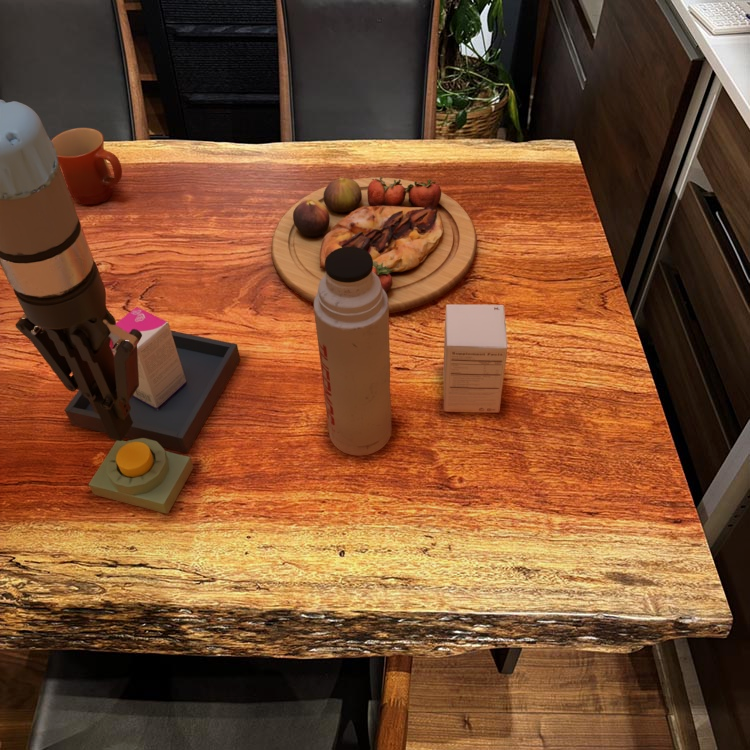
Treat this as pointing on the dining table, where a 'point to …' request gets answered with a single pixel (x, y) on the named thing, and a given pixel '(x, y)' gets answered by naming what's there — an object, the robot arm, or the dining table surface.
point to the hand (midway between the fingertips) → (121, 430)
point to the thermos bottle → (354, 352)
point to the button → (134, 459)
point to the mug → (86, 165)
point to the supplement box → (154, 358)
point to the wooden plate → (378, 237)
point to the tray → (186, 408)
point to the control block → (143, 478)
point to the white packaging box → (474, 357)
